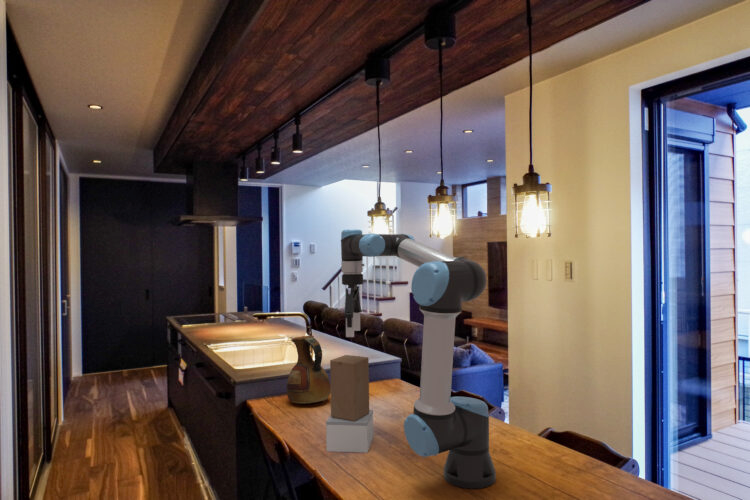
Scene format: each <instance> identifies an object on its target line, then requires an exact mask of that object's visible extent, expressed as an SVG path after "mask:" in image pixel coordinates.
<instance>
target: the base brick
mask: <svg viewBox="0 0 750 500" xmlns="http://www.w3.org/2000/svg"><path fill="white" fill-rule="evenodd" d="M325 424H326V425H325V428H326V429H325V431H326V432H325V433H326V435H325V436H326V440H325V442H326V443H325V445H326V452H339V453H342V452H343V453H360V454H361V453H362V454H363V453H365V454H368V452H369V450H370V448H371V444H372V442H373V439H374V410H373V409H369V414H367V415H365V416H363V417H362V418H360V419H358V420H356V421H350V420H344V419H339V418H333V417H331V414H330V415H329V417H328V418H327V420H326V421H325Z"/></svg>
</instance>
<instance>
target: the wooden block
mask: <svg viewBox="0 0 750 500" xmlns="http://www.w3.org/2000/svg"><path fill="white" fill-rule="evenodd" d="M369 364H370V363H369V357H367V356H358V355H350V354H349V355H347V354H345V355H341V356H340V357H339V356H338V357H336V358H333V359H331V360H330V361H329V366H330V371H329V372H330V373H329V374H330V378H329V380H330V386H331V393H330V415H331V417H333V418H339V419H344V420H350V421H356V420H358V419H360V418H362V417H363V416H365V415H367V414H369V410H370V376H369V375H370V372H369V369H370V367H369Z"/></svg>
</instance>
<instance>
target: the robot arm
mask: <svg viewBox="0 0 750 500" xmlns="http://www.w3.org/2000/svg"><path fill="white" fill-rule="evenodd" d="M340 233H341V235H340V237H341V238H340V248H341V249H340V251H341V253H340V255H341V273H342V274H341V285H343V286H347V288H345V302H344V314H343V315H342V317H343V318H344V319H345V337H346V338H354V337H355V332H358V331H359V332H360V331H361V313H362V312H363V309H362V308H361V297H360V285H363V284H364V274H363V272H364V271H363V269H364V268H363V267H365V263H363V262H364V258H363V257H369V258H371V257H397V258H399V259H401V260H404V261H406V262H408V263H410V264H411V265H414V266H416V267H418V268H416V270H415V272H414V274H413V276H412V279H411V285H410V286H411V287H410V288H411V293H412V295H413V299H414V300H415V302H416V303H417V304H418V308H419V309H418V310H419V311H420V312H421V313H422V314H423V331H422V333H423V334H422V350H421V365H420V366H421V367H420V369H421V370H420V384H419V385H420V386H419V387H420V388H419V398H417V399H416V400H415V401H414V403H413V413H412V414H411V413H410V414H409V415H407V416H406V418H405V419H404V422H403V431H404V432H403V433H404V435H405V439H406V441H407V443H408V445H409V447H410V448H411V450H412V451H413V452H415V454H417V455H418V456H420V457H422V458H427V457H431V456H438V455H439V454H442V453H445V452H448V454H447V456H446V459H445V463H444V466H443V478H444V479H445V481H446V482H447V483H449V484H450V485H453V486H456V487H458V488H463V489H470V490H471V489H472V490H473V489H475V490H476V489H477V490H478V489H484V488H488V487H490V486H492V485H494V483H496V480H497V479H496V478H497V476H496V469H495V466H494V463H493V460H492V457H491V454H490V415H489V407H488V405H487V403H486V402H485V401H483V400H481V399H477V398H476V397H475V398H473V397H468V396H451V395H452V394H451V393H452V380H453V379H452V378H453V364H454V360H453V359H454V349H455V348H454V347H455V346H454V345H455V331H456V319H457V317H458V316H459V315H460V314H461V313H462V311H463V310H462V309H463V303H466V302H470V301H474V300H477V298H479V297H480V296H481V295H482V294H483V292H484V291H485V289H486V286H487V274H486V272H485V269H484V268H483V266H481V264H479V263H478V262H476V261H474V260H471V259H469V258H467V257H465V256H458V257H457V256H456V257H455V256H453V255H450V254H448V253H446V252H444V251H440V250H439V249H436V248H434V247H431V246H429V245H426V244H423V243H422V242H419V241H417V240H415V238H414V236H412V235H411V234H406V233H400V234H396V233H395V234H391V233H390V234H387V233H380V234H379V233H366V234H363V230H361V229H358V228H357V229H343V230H342V231H341V232H340Z"/></svg>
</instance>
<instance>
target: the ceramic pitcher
mask: <svg viewBox="0 0 750 500" xmlns="http://www.w3.org/2000/svg"><path fill="white" fill-rule="evenodd" d="M291 342H293V344H294V346H295V347H296V352H297V361H296V364H295V365H294V366H293V367H292V368H291V370H290V372H289V375H288V378H287V382H286V383H287V384H286V396H287V399H288V401H290V402H291V403H295V404H312V403H319V402H325V401H326V400H328V398H330V397H331V380H330V378H329V375H328V373H327V371H326V370H325V369H324V367H322V366H321V365H322V360H323V350H322V347H321V344H320V342H319V341H318V340H317V339H316V338H315V336H314V335H304V336H303V335H302V336H295V337H293V338H291ZM311 348H312V351H313V355H314V360H313V357H312V354H311Z"/></svg>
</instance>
